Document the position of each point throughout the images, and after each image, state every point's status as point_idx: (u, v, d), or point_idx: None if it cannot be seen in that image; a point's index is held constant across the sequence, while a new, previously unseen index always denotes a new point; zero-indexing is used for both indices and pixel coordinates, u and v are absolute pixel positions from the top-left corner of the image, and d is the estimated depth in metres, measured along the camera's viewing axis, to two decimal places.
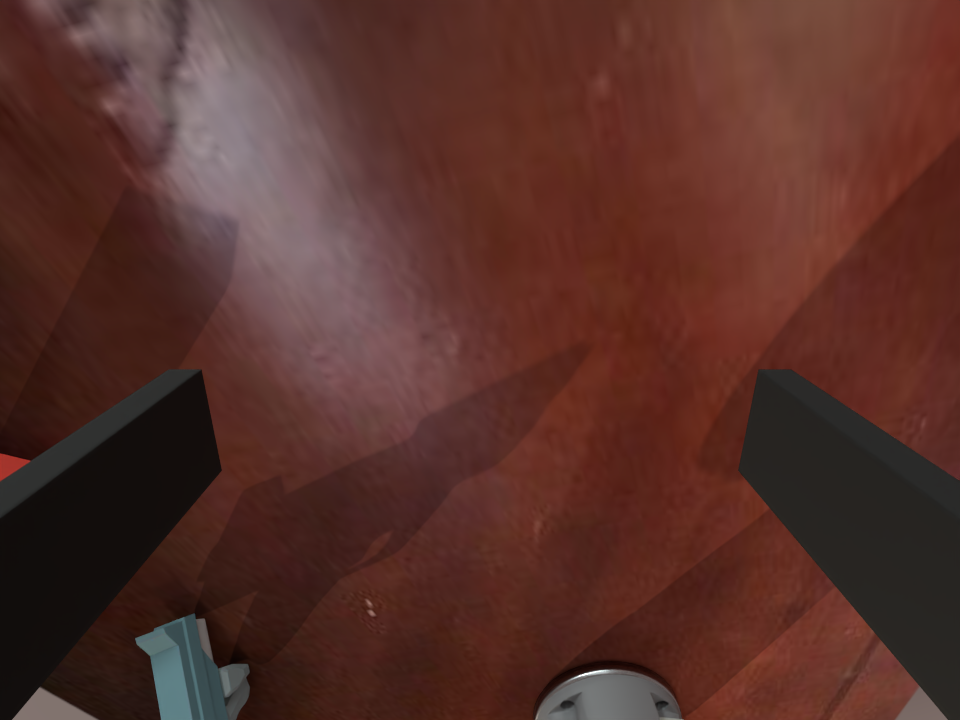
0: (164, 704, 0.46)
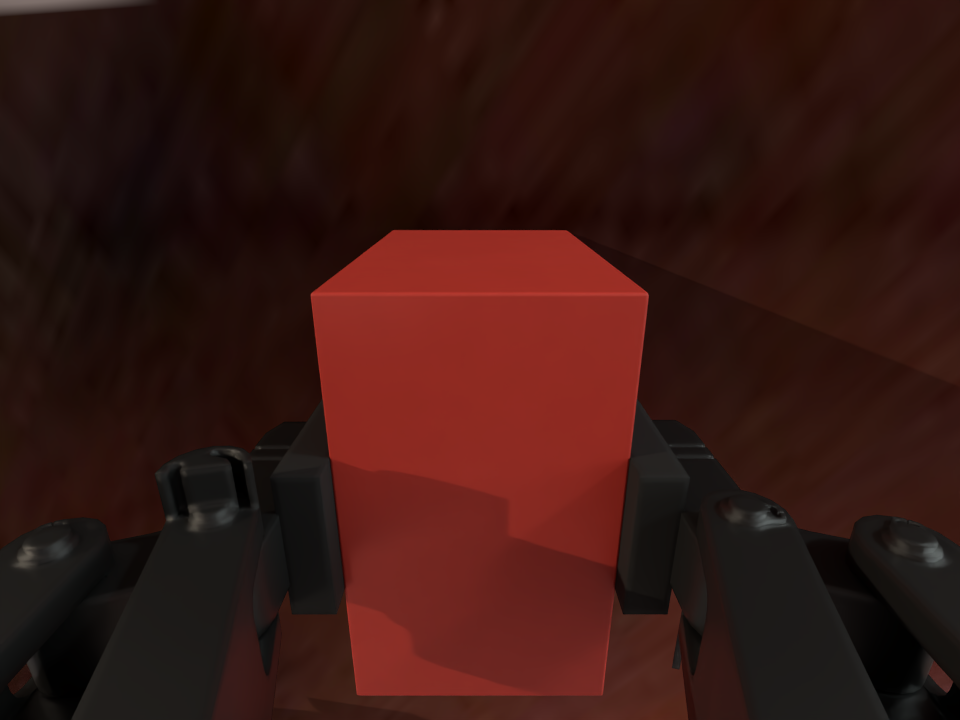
0: None
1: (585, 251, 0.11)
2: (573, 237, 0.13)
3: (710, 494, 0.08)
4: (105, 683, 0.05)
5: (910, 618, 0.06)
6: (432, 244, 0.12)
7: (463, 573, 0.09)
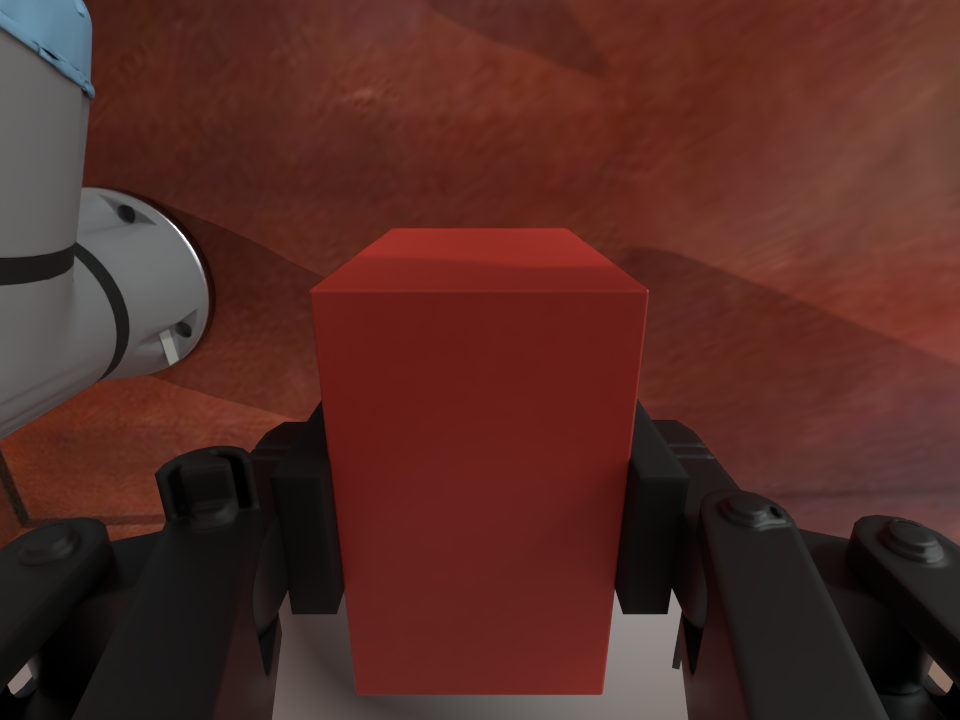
0: None
1: (585, 248, 0.11)
2: (573, 235, 0.13)
3: (710, 494, 0.08)
4: (105, 683, 0.05)
5: (910, 618, 0.06)
6: (432, 242, 0.12)
7: (462, 571, 0.09)
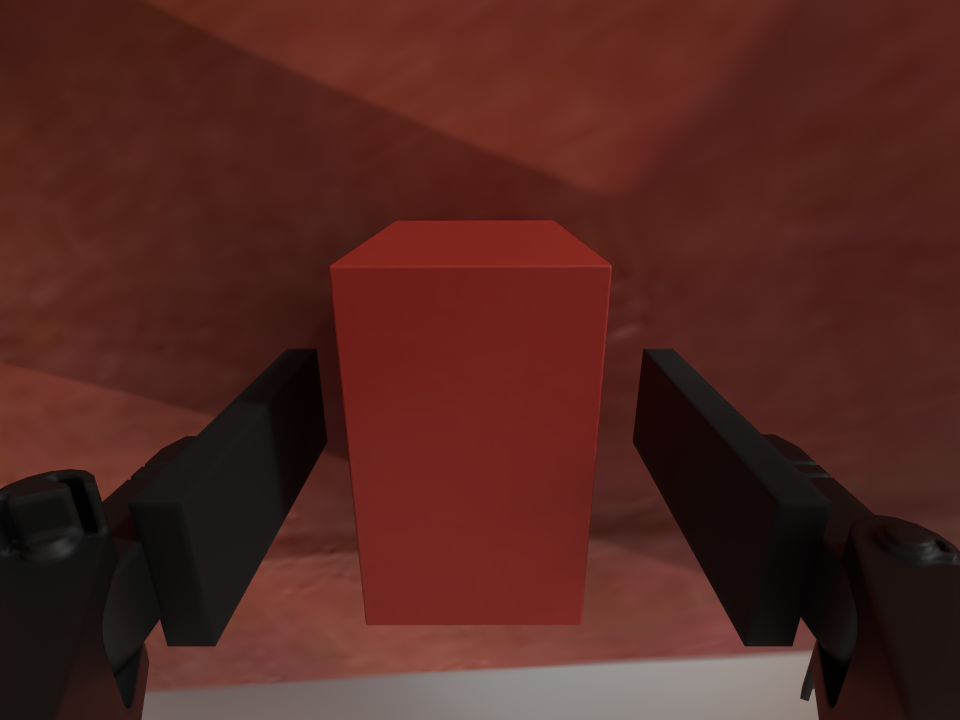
0: None
1: (566, 236, 0.12)
2: (558, 225, 0.15)
3: (861, 519, 0.07)
4: None
5: None
6: (431, 231, 0.13)
7: (458, 512, 0.11)
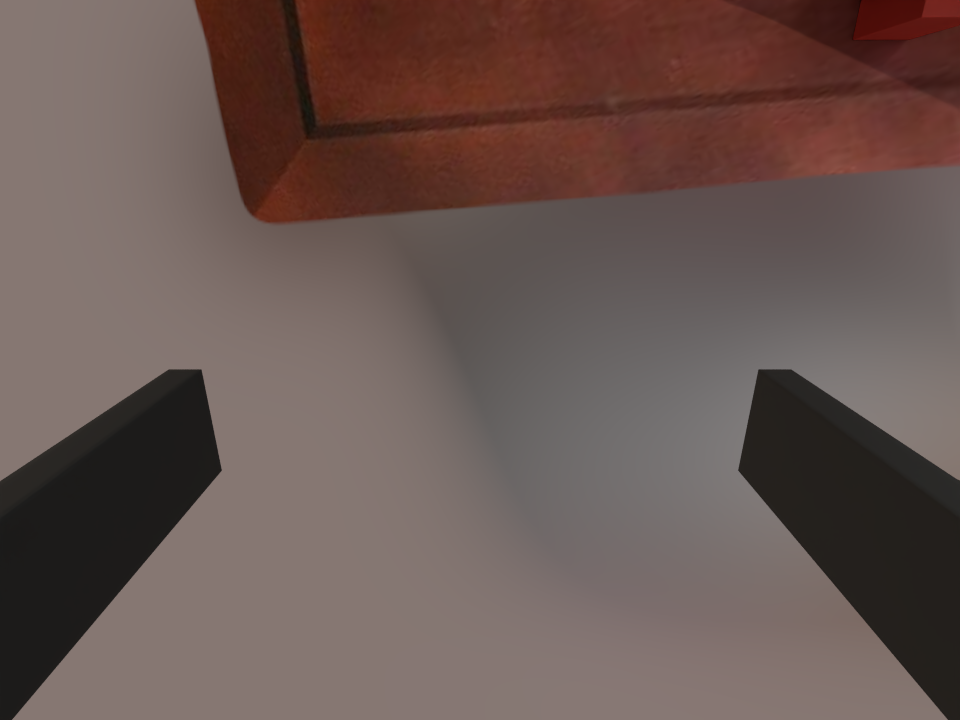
0: None
1: None
2: None
3: None
4: None
5: None
6: None
7: None
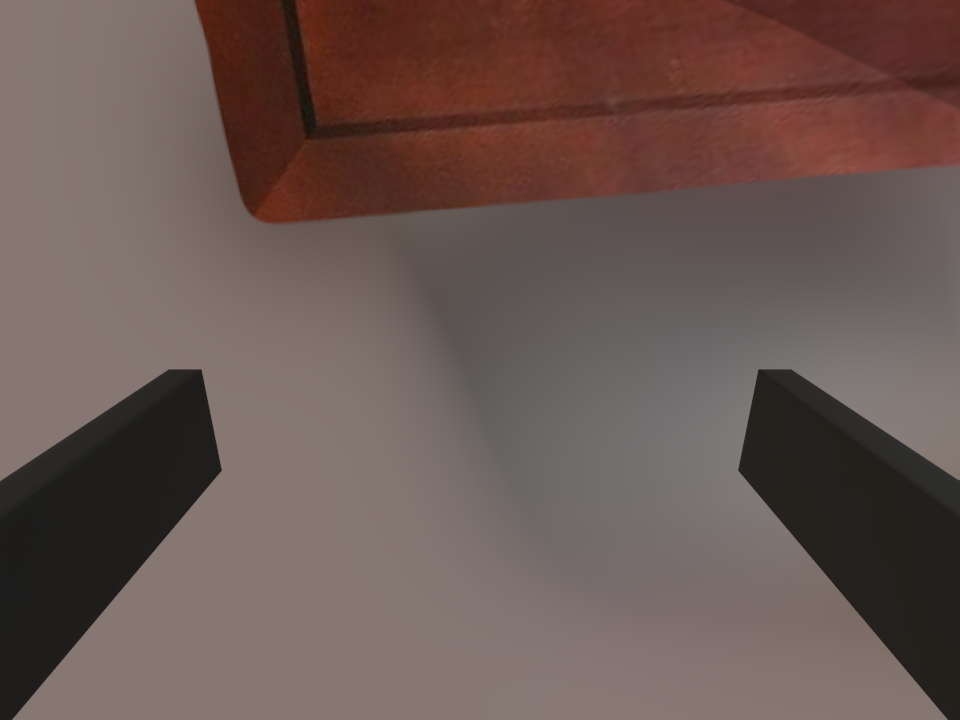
0: None
1: None
2: None
3: None
4: None
5: None
6: None
7: None
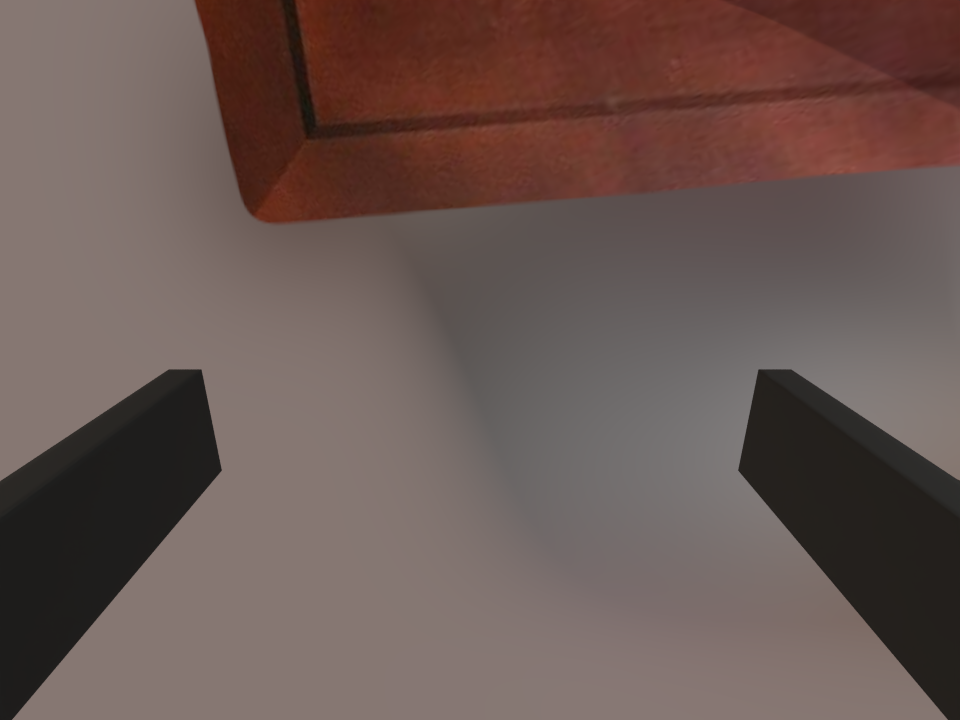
0: None
1: None
2: None
3: None
4: None
5: None
6: None
7: None
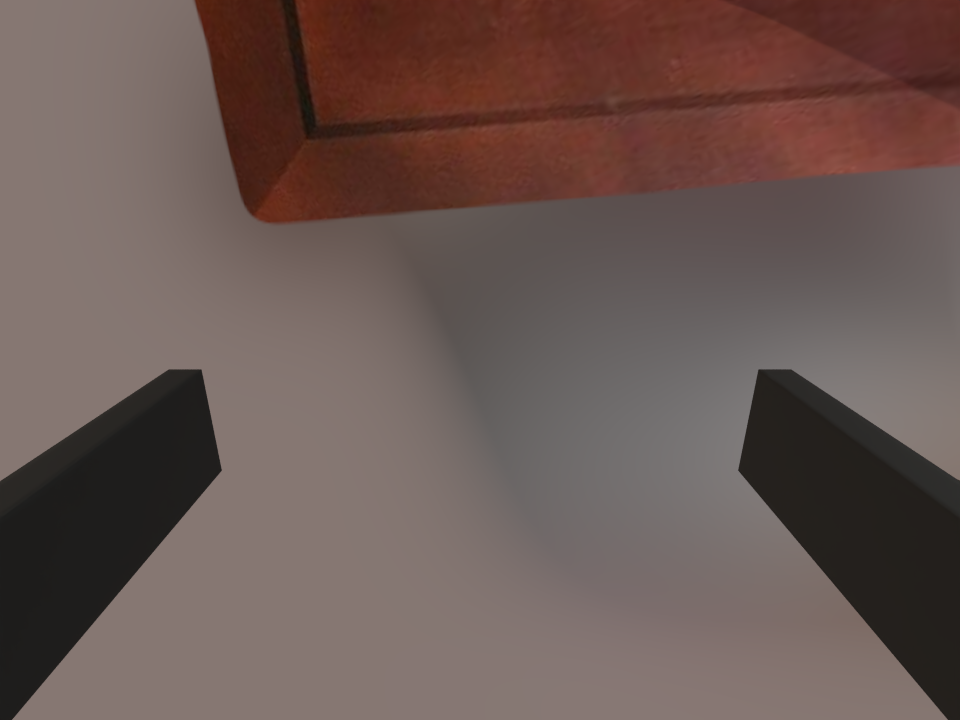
0: None
1: None
2: None
3: None
4: None
5: None
6: None
7: None
